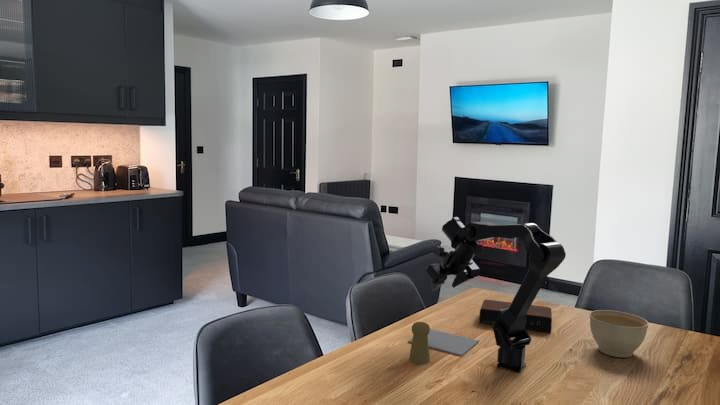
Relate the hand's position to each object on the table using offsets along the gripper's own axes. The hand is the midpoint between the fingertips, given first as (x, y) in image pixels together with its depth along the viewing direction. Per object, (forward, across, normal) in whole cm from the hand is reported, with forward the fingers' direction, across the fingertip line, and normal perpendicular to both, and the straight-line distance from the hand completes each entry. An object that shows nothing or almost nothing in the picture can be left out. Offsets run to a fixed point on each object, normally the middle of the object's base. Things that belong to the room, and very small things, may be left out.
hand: (442, 288), depth 172 cm
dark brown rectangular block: (+10, -30, +13) cm, 35 cm away
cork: (+6, +20, +20) cm, 29 cm away
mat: (+9, +4, +14) cm, 17 cm away
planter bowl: (-9, -37, +41) cm, 56 cm away
